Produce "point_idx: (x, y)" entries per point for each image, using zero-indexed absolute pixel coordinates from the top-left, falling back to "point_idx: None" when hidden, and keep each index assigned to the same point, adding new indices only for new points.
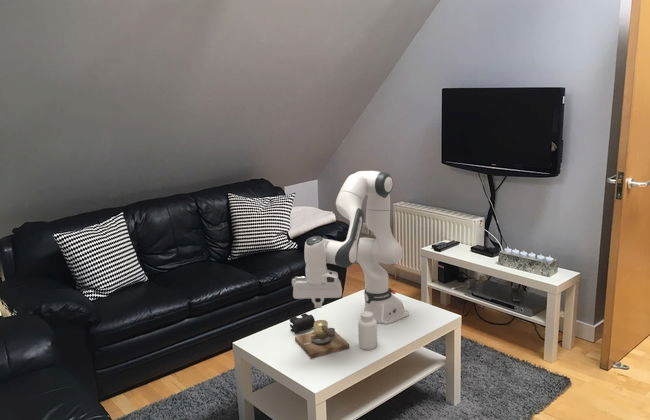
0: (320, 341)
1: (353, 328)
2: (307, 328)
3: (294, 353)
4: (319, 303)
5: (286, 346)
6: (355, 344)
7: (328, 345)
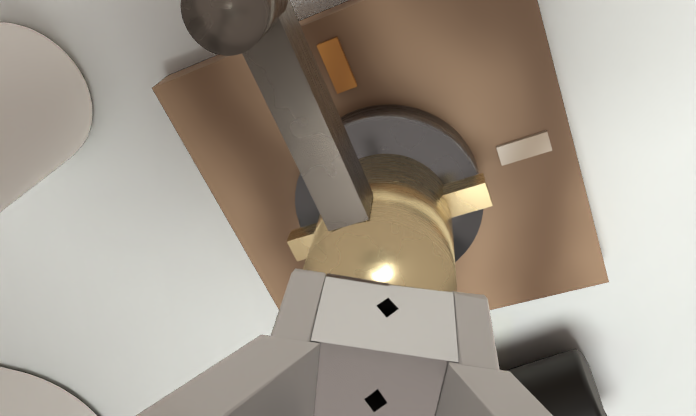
0: (402, 118)
1: (161, 340)
2: None
3: (652, 57)
4: (335, 378)
5: (692, 188)
6: (125, 128)
7: (333, 89)
